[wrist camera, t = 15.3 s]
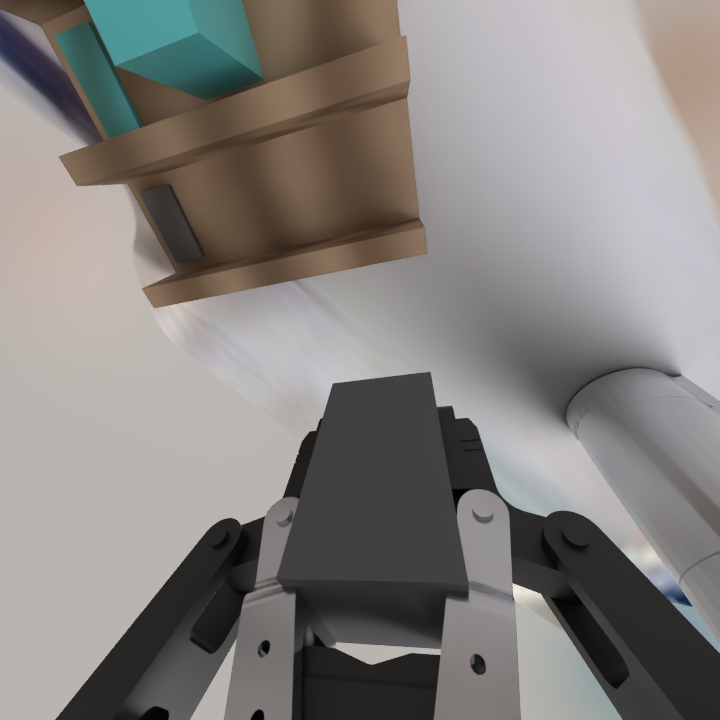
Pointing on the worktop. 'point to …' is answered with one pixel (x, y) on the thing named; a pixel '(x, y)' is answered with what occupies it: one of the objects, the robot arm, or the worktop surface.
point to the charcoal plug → (378, 517)
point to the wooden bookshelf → (257, 146)
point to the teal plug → (181, 42)
